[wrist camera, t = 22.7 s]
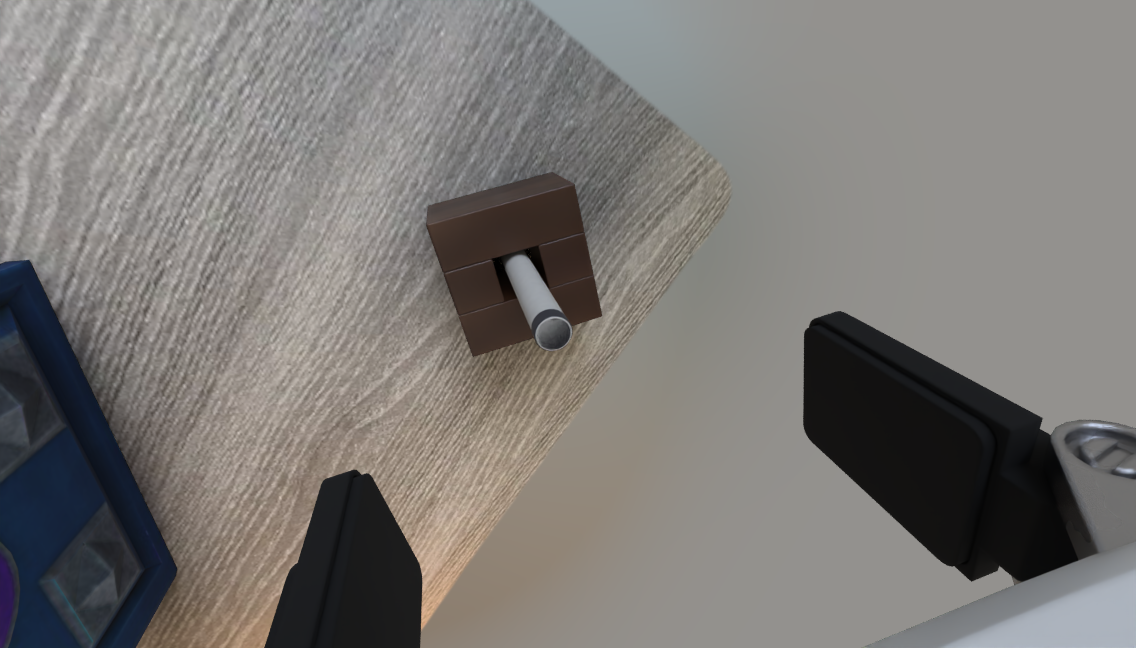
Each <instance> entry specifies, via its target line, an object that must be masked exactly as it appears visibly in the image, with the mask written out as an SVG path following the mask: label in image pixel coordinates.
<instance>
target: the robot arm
mask: <svg viewBox="0 0 1136 648" xmlns="http://www.w3.org/2000/svg"><path fill="white" fill-rule="evenodd" d="M803 413H804V414H803V425H804V430H805V432H806V435H807V436H808V438H809V439H810V440H811V441H812V443H813V444H815V445H816V446H817V447H818V448H819V449H820V450H821V451H822V452H823V453H824V454H825V455H826V456H828V457H829V458H830V459H831V460H832V461H833V462H834V463H835V464H836V465H837V466H838V467H839V468H841V469H842V470H843V471H844V472H845V473H846V474H847V475H848V476H849V477H850V478H851V479H852V480H853V481H854V482H856V483H857V484H858V485H859V486H860V487H861V488H862V489H863V490H864V491H865V492H866V493H868V495H870V496H871V497H872V498H873V499H874V500H875V501H876V502H877V503H878V504H879V505H880V506H881V507H883V508H884V509H885V510H886V511H887V512H888V513H889V514H890V515H891V516H892V517H893V518H894V519H895V520H896V521H898V522H899V523H900V524H901V525H902V526H903V527H904V528H905V529H906V530H907V531H908V532H909V533H911V534H912V535H913V536H914V537H915V538H916V539H917V540H918V541H919V542H920V543H921V544H922V545H923V546H925V547H926V548H927V549H928V550H929V551H930V552H931V553H932V554H933V555H934V556H935V557H936V558H937V559H939V560H940V561H941V562H942V563H944V564H946V565H948V566H955V567H956V568H957V569H958V570H959V571H960V572H961V573H962V574H964V575H965V576H966V577H967V578H968V579H969V580H970V581H974V580H976V579H979V578H981V577H983V576H986V575H989V574H991V573H993V572H996V571H997V570H998V568H999V566H1000V567H1002V568H1003V569H1004V570H1005V571H1006V572H1008V573H1009V574H1010V575H1011V576H1012V579H1013V582H1014V586H1011V587H1009V588H1006V589H1004V590H1001V591H999V592H996V593H994V594H991V595H989V596H987V597H984V598H982V599H979V600H977V601H974V602H972V603H970V604H967V605H965V606H962V607H960V608H957V609H955V610H953V611H950V612H948V613H945V614H943V615H940V616H938V617H936V618H933V619H931V620H928V621H926V622H923V623H921V624H919V625H916V626H914V627H911V628H909V629H906V630H904V631H901V632H899V633H897V634H894V635H892V636H889V637H887V638H884V639H882V640H880V641H877V642H875V643H872V644H870V645H867V646H865V647H863V648H1136V428H1133V427H1129V426H1126V425H1122V424H1119V423H1112V422H1106V421H1100V420H1077V421H1071V422H1066V423H1064V424H1061V425H1059V426H1058V427H1056V428H1055V429H1054V431H1053V433H1052V434H1051V435H1049V434H1048V433H1046V432H1044V431H1042V430H1040V426H1041V422H1042V418H1041V417H1039V416H1038V415H1036V414H1034V413H1032V412H1030V411H1028V410H1026V409H1024V408H1022V407H1021V406H1019V405H1017V404H1015V403H1013V402H1011V401H1009V400H1007V399H1006V398H1004V397H1002V396H1000V395H998V394H996V393H994V392H992V391H991V390H989V389H987V388H985V387H983V386H981V385H979V384H978V383H976V382H974V381H972V380H970V379H968V378H966V377H964V376H963V375H961V374H959V373H957V372H955V371H953V370H951V369H949V368H948V367H946V366H944V365H942V364H940V363H938V362H936V361H934V360H933V359H931V358H929V357H927V356H925V355H923V354H921V353H919V352H917V351H916V350H914V349H912V348H910V347H908V346H906V345H905V344H903V343H901V342H899V341H897V340H895V339H893V338H891V337H890V336H888V335H886V334H884V333H882V332H880V331H878V330H876V329H875V328H873V327H871V326H869V325H867V324H865V323H863V322H861V321H860V320H858V319H856V318H854V317H852V316H850V315H848V314H846V313H844V312H841V311H838V312H834V313H831V314H828V315H824V316H821V317H818V318H815V319H814V320H812V321H811V323H810V325H809V328H807V329H806V330H805V333H804V412H803ZM421 606H422V573H421V568H420V565H419V562H418V560H417V558H416V557H415V555H414V553H413V551H412V549H411V547H410V546H409V544H408V542H407V540H406V538H405V536H404V535H403V533H402V531H401V529H400V527H399V525H398V524H397V522H396V520H395V518H394V516H393V515H392V513H391V511H390V509H389V507H388V505H387V504H386V502H385V500H384V498H383V496H382V494H381V493H380V491H379V489H378V487H377V485H376V483H375V482H374V480H373V478H372V477H371V475H370V474H364V475H361V474H360V472H358V471H357V470H351V471H348V472H345V473H342V474H339V475H336V476H333V477H330V478H327V479H325V480H324V481H323V482H322V484H321V487H320V491H319V494H318V497H317V501H316V504H315V507H314V511H313V514H312V517H311V520H310V524H309V527H308V530H307V534H306V537H305V540H304V544H303V547H302V550H301V554H300V557H299V560H298V563H297V564H295V565H294V566H293V567H292V568H291V569H290V571H289V573H288V576H287V578H286V581H285V584H284V587H283V590H282V594H281V597H280V600H279V603H278V606H277V609H276V613H275V616H274V619H273V622H272V625H271V628H270V632H269V635H268V638H267V641H266V644H265V647H264V648H420V635H421Z"/></svg>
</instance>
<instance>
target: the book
mask: <svg viewBox="0 0 1136 648" xmlns="http://www.w3.org/2000/svg"><path fill="white" fill-rule="evenodd" d="M176 572H177V567H176V565H175V563H174V561H173V559H172V557H171V555H170V553H169V551H168V549H167V547H166V544H165V542H164V540H163V538H162V536H161V534H160V532H159V530H158V528H157V526H156V524H155V522H154V519H153V517H152V515H151V513H150V511H149V509H148V507H147V505H146V503H145V501H144V499H143V497H142V494H141V492H140V490H139V488H138V486H137V484H136V482H135V480H134V478H133V476H132V474H131V472H130V469H129V467H128V465H127V463H126V461H125V459H124V457H123V455H122V453H121V451H120V449H119V446H118V444H117V442H116V440H115V438H114V436H113V434H112V432H111V430H110V428H109V426H108V424H107V421H106V419H105V417H104V415H103V413H102V411H101V409H100V407H99V405H98V403H97V401H96V399H95V396H94V394H93V392H92V390H91V388H90V386H89V384H88V382H87V380H86V378H85V376H84V373H83V371H82V369H81V367H80V365H79V363H78V361H77V359H76V357H75V355H74V353H73V351H72V348H71V346H70V344H69V342H68V340H67V338H66V336H65V334H64V332H63V330H62V328H61V326H60V323H59V321H58V319H57V317H56V315H55V313H54V311H53V309H52V307H51V305H50V303H49V301H48V298H47V296H46V294H45V292H44V290H43V288H42V286H41V284H40V282H39V280H38V278H37V275H36V273H35V271H34V269H33V267H32V265H31V263H30V261H29V260H24V261H10V262H4V263H1V264H0V648H136V646H137V644H138V643H139V641H140V639H141V637H142V635H143V634H144V632H145V630H146V628H147V627H148V625H149V623H150V621H151V619H152V618H153V616H154V614H155V612H156V610H157V609H158V607H159V605H160V603H161V601H162V600H163V598H164V596H165V594H166V592H167V591H168V589H169V587H170V585H171V583H172V582H173V580H174V578H175V576H176Z"/></svg>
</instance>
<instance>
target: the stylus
mask: <svg viewBox="0 0 1136 648" xmlns="http://www.w3.org/2000/svg"><path fill="white" fill-rule="evenodd" d="M500 259H501V261H502V263H503V266H504V268H505V270H506V273H507V275H508V277H509V280H510V282H511V284H512V287H513V289H514V291H515V294H516V296H517V298H518V301H519V303H520V305H521V307H522V310H523V312H524V314H525V317H526V319H527V321H528V324H529V326H530V328H531V331H532V334H533V337H534V339H535V341H536V343H537V345H538V346H539V347H541V348H542V349H544V350H547V351H556V350H560V349H562V348H563V347H565V346H566V345H567V344H568V343H569V341H570V339H571V337H572V326H571V324H570V322H569V320H568V319H567V317H566V316H565V314H564V313H563V312H562V310H561V309H560V307H559V305H558V304H557V302H556V301H555V299H554V297H553V296H552V294H551V293H550V291H549V289H548V288H547V286H546V284H545V283H544V281H543V280H542V278H541V276H540V275H539V273H538V272H537V270H536V268H535V267H534V265H533V264H532V262H531V260H530V259H529V257H528V256H527V254H526V252H525V251H524V250H520V251H517V252H513V253H510V254H507V255H503V256H500Z"/></svg>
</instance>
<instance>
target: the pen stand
mask: <svg viewBox="0 0 1136 648" xmlns="http://www.w3.org/2000/svg"><path fill="white" fill-rule="evenodd" d="M426 226H427V229H428V232H429V235H430V238H431V240H432V243H433V246H434V249H435V252H436V254H437V257H438V260H439V263H440V266H441V268H442V271H443V272H444V277H445V280H446V282H447V285H448V288H449V291H450V294H451V296H452V299H453V302H454V305H455V308H456V310H457V313H458V315H459V319H460V322H461V325H462V327H463V330H464V333H465V336H466V339H467V342H468V344H469V347H470V350H471V353H472V356H473V357H474V356H477V355H480V354H484V353H487V352H490V351H493V350H496V349H500V348H503V347H506V346H509V345H512V344H516V343H519V342H522V341H525V340H528V339H531V338H534V337H533V334H532V331H531V328H530V326H529V324H528V321H527V319H526V317H525V314H524V312H523V310H522V307H521V305H520V303H519V301H518V298H517V296H516V294H515V291H514V289H513V287H512V284H511V282H510V280H509V277H508V275H507V273H506V271H502V272H499V273H496V270H495V267H494V263H493V260H492V259H493V258H496V257H500V256H503V255H507V254H510V253H513V252H517V251H520V250H524V249H527V248H529V250H530V254H531V258H532V262H533V263H532V264H533V265H534V267H535V268H536V270H537V272H538V273H539V275H540V276H541V278H542V280H543V281H544V283H545V284H546V286H547V288H548V289H549V291H550V293H551V294H552V296H553V297H554V299H555V301H556V302H557V304H558V305H559V307H560V309H561V310H562V312H563V313H564V314H565V316H566V317H567V319H568V320H569V322H570V324H571V326H573V325H576V324H579V323H582V322H586V321H589V320H592V319H595V318H598V317H601V316H602V312H601V308H600V303H599V298H598V293H597V289H596V284H595V279H594V275H593V270H592V265H591V260H590V256H589V251H588V246H587V241H586V237H585V233H584V227H583V222H582V218H581V213H580V208H579V203H578V199H577V194H576V189H575V185H574V184H573V183H572V182H570V181H568V180H566V179H564V178H562V177H561V176H559V175H557V174H555V173H553V172H551V173H547V174H543V175H540V176H536V177H532V178H529V179H525V180H521V181H518V182H514V183H510V184H506V185H503V186H499V187H495V188H492V189H488V190H484V191H481V192H477V193H473V194H470V195H466V196H462V197H459V198H455V199H451V200H448V201H444V202H440V203H436V204H433V205H429V206H428V211H427V223H426Z"/></svg>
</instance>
